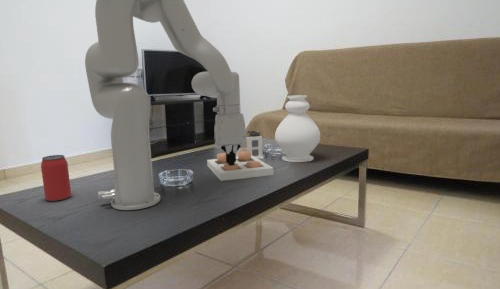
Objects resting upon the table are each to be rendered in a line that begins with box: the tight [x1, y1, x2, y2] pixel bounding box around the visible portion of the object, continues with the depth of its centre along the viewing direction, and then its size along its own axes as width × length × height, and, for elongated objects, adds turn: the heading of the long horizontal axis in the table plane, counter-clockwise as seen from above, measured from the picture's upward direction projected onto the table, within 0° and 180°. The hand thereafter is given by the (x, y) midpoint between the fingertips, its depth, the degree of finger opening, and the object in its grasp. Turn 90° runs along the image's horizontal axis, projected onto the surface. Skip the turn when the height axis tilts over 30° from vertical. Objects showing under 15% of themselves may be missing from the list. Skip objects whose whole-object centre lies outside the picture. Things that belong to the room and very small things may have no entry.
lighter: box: [246, 129, 264, 155], centre depth 155 cm, size 8×3×10 cm, turn 58°
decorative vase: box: [274, 94, 321, 163], centre depth 140 cm, size 18×18×25 cm
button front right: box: [246, 161, 260, 168], centre depth 123 cm, size 5×5×3 cm
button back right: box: [238, 151, 251, 161], centre depth 132 cm, size 5×5×3 cm
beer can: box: [40, 154, 72, 202], centre depth 100 cm, size 7×7×12 cm
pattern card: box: [236, 135, 265, 160], centre depth 143 cm, size 11×4×9 cm, turn 108°
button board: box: [206, 156, 275, 182], centre depth 126 cm, size 18×22×2 cm
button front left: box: [224, 163, 238, 171], centre depth 120 cm, size 5×5×3 cm
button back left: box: [216, 152, 227, 164], centre depth 129 cm, size 5×5×3 cm
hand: (231, 164), depth 120 cm, fingers closed
